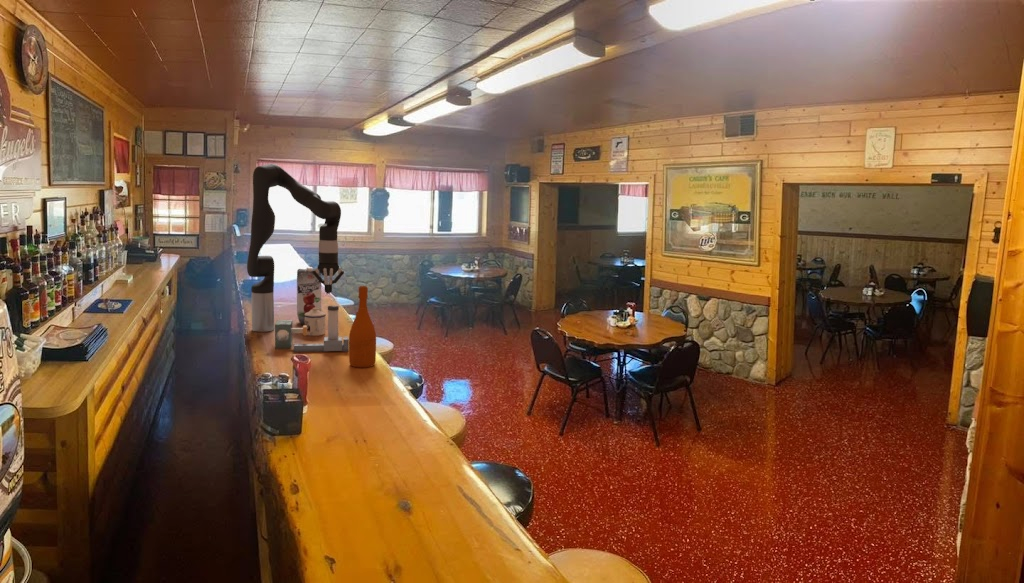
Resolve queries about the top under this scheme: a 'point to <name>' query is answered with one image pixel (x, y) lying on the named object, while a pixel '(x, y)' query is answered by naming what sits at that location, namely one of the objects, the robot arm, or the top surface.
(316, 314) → the teacup with lid
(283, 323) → the gauge cabinet
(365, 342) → the wine bottle
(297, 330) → the plunger
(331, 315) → the post
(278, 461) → the top surface
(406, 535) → the top surface
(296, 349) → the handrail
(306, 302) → the juice carton
